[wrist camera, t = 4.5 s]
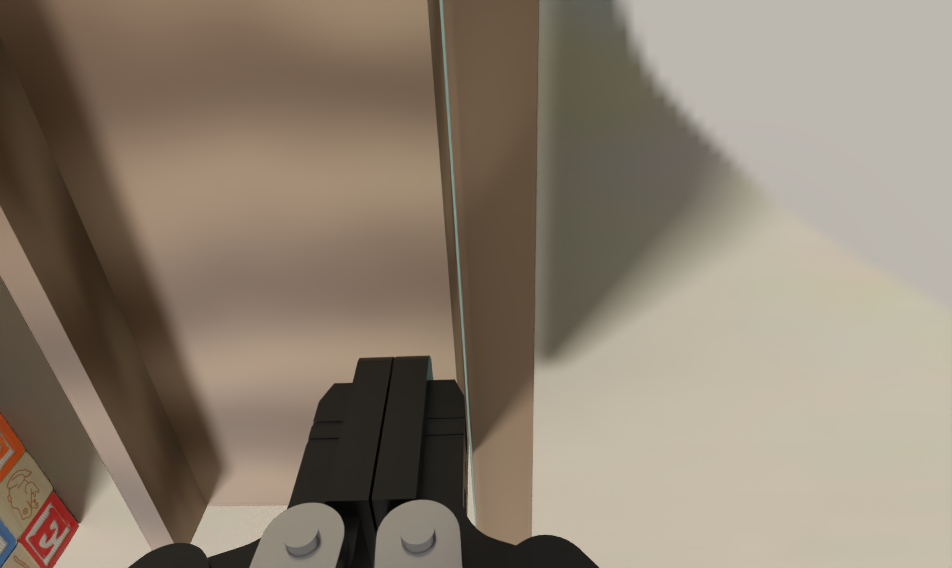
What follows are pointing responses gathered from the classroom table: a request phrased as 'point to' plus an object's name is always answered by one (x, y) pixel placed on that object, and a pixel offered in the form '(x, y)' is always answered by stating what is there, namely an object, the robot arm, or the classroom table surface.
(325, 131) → the cart bed
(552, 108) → the classroom table surface
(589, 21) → the classroom table surface
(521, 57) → the tailgate
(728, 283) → the classroom table surface
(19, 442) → the stack of blocks
